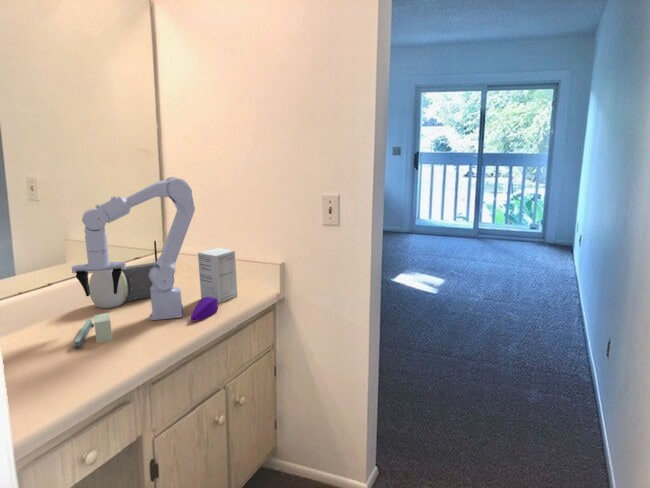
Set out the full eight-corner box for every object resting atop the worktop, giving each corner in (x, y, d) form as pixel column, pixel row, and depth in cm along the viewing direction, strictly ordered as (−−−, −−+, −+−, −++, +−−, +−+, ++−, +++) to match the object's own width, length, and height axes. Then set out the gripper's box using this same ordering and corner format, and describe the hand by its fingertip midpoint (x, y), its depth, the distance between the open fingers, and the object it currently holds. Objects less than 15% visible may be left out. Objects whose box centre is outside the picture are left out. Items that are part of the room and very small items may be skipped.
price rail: (94, 325, 155) (93, 318, 155) (82, 348, 138) (81, 340, 137) (85, 326, 154) (84, 319, 154) (73, 349, 137) (72, 341, 137)
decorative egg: (136, 303, 176) (133, 260, 173) (102, 312, 166) (98, 267, 163) (116, 297, 183) (113, 256, 180) (83, 305, 173) (79, 262, 170)
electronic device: (162, 291, 188) (158, 238, 185) (169, 295, 183) (165, 241, 180) (113, 300, 178) (108, 244, 174) (119, 305, 173) (114, 247, 169)
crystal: (183, 311, 155) (208, 292, 169) (185, 326, 156) (209, 306, 170) (197, 313, 153) (221, 293, 167) (199, 327, 155) (222, 307, 169)
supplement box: (220, 292, 187) (217, 247, 184) (238, 296, 182) (236, 250, 178) (200, 299, 179) (196, 252, 176) (218, 303, 174) (215, 255, 171)
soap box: (112, 340, 143) (110, 320, 142) (96, 343, 142) (94, 322, 140) (110, 332, 149) (108, 313, 148) (95, 334, 148) (93, 315, 147)
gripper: (125, 245, 156) (129, 288, 158) (73, 248, 152) (78, 292, 155) (122, 250, 149) (126, 294, 152) (68, 253, 145) (73, 299, 148)
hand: (102, 294), depth 153 cm, fingers open, 7 cm apart
